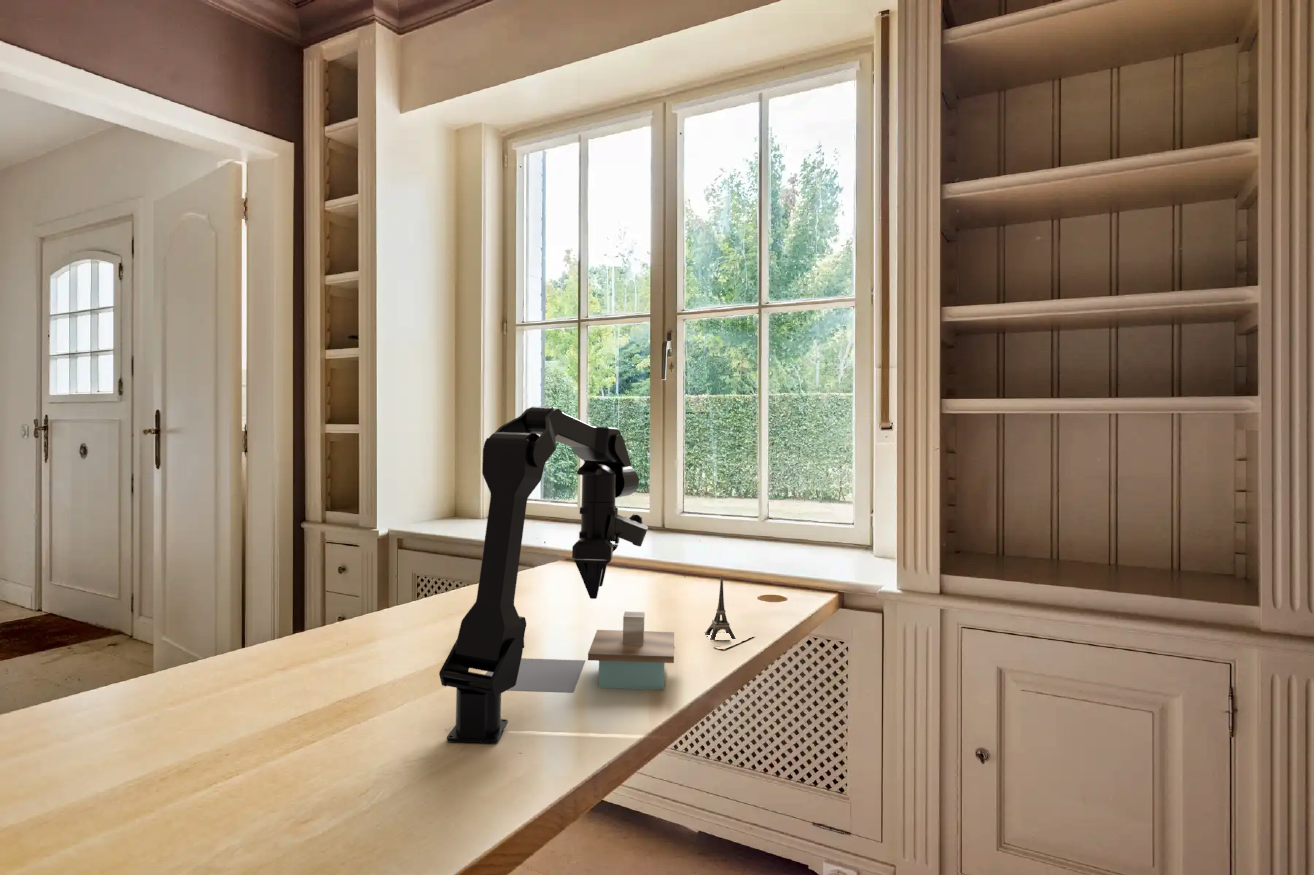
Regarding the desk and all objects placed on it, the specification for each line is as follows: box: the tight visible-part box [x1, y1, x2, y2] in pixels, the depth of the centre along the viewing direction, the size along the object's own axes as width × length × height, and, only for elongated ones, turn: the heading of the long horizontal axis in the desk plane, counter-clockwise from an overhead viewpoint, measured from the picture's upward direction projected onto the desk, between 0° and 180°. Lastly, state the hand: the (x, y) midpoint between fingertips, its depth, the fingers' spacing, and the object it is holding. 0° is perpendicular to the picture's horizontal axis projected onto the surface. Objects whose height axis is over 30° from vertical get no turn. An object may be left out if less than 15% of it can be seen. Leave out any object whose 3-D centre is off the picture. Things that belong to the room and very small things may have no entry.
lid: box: [587, 611, 675, 664], centre depth 118 cm, size 13×13×6 cm
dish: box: [597, 661, 666, 691], centre depth 118 cm, size 10×10×5 cm
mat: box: [484, 657, 586, 694], centre depth 118 cm, size 15×15×1 cm
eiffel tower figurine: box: [704, 575, 736, 640], centre depth 143 cm, size 15×10×13 cm
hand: (596, 592), depth 126 cm, fingers open, 9 cm apart
